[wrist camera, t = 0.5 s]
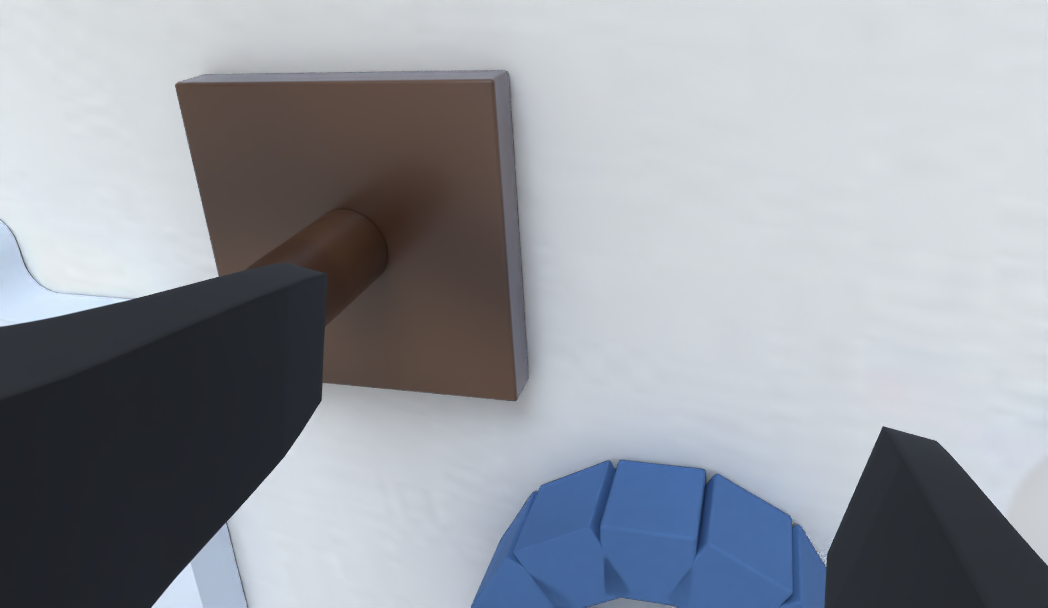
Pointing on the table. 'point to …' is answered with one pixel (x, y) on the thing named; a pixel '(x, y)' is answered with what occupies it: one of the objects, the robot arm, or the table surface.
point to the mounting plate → (15, 297)
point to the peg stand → (375, 214)
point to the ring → (651, 545)
